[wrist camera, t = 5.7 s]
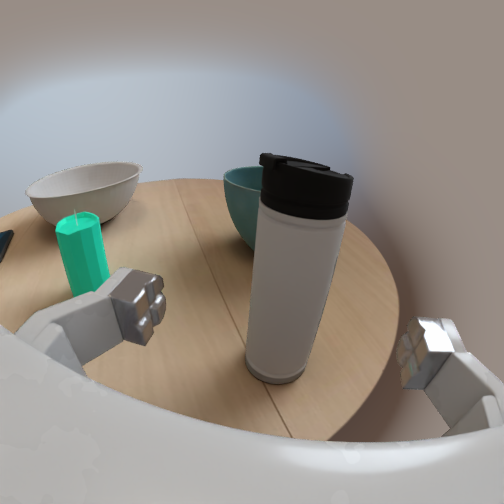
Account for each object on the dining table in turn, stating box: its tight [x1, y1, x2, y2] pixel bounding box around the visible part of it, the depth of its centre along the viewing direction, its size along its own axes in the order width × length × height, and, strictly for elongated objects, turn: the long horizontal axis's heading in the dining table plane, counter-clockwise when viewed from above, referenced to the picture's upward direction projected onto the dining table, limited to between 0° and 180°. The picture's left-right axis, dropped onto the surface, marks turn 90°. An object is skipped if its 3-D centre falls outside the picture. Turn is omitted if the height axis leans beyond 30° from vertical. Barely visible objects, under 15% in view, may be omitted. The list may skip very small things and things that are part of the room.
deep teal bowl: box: [224, 166, 263, 251], centre depth 46 cm, size 18×18×12 cm
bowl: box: [25, 162, 143, 226], centre depth 52 cm, size 27×27×10 cm
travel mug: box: [245, 153, 354, 384], centre depth 22 cm, size 6×7×20 cm
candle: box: [55, 210, 110, 297], centre depth 31 cm, size 6×6×12 cm
